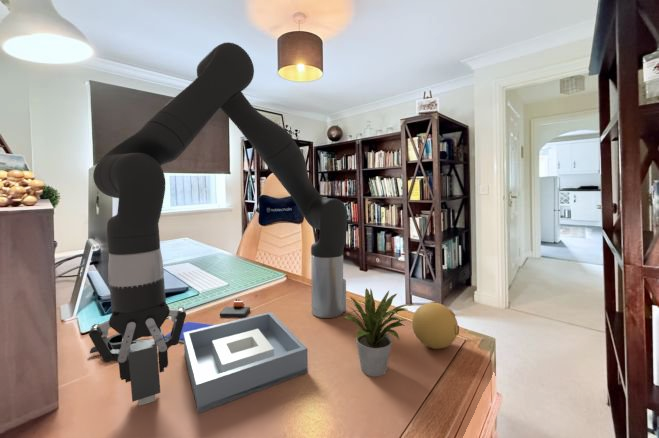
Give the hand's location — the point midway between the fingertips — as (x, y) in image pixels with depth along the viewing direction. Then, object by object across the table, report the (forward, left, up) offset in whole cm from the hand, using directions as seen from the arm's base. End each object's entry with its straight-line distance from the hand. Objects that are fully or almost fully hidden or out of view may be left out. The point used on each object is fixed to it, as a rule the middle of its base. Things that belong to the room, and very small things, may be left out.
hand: (145, 374), depth 50 cm
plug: (0, 0, -5) cm, 5 cm away
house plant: (-38, +15, -5) cm, 41 cm away
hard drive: (-11, -20, -6) cm, 23 cm away
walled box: (-17, -2, -5) cm, 18 cm away
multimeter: (-24, -34, -6) cm, 42 cm away
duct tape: (+5, -22, -5) cm, 23 cm away
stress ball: (-56, +15, -5) cm, 58 cm away
